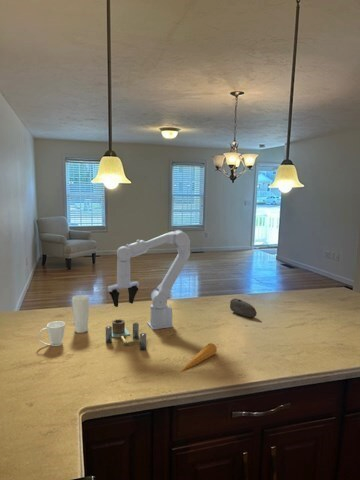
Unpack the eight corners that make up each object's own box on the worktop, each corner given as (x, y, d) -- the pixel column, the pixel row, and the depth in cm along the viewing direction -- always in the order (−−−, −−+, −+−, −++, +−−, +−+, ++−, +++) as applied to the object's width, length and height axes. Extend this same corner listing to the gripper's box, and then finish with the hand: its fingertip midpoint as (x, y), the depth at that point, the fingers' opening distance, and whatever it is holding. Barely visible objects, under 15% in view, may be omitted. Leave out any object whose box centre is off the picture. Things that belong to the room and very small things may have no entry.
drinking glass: (85, 334, 149) (84, 300, 147) (70, 333, 150) (69, 298, 148) (92, 328, 156) (91, 295, 153) (77, 327, 157) (77, 294, 155)
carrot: (211, 353, 137) (207, 342, 137) (220, 352, 134) (216, 341, 134) (177, 378, 122) (173, 366, 122) (186, 378, 119) (182, 365, 119)
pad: (125, 328, 157) (125, 327, 157) (130, 335, 150) (130, 333, 150) (107, 330, 154) (107, 329, 154) (110, 337, 147) (110, 336, 147)
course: (137, 335, 150) (137, 321, 149) (147, 349, 136) (147, 335, 135) (104, 339, 145) (104, 325, 144) (111, 355, 131) (111, 340, 130)
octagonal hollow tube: (117, 328, 155) (117, 318, 155) (126, 331, 153) (126, 320, 152) (110, 332, 151) (109, 322, 150) (119, 334, 148) (119, 324, 148)
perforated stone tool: (259, 318, 172) (259, 304, 171) (252, 320, 169) (252, 306, 168) (235, 310, 184) (236, 296, 183) (228, 312, 180) (229, 298, 179)
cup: (67, 345, 139) (67, 325, 138) (40, 350, 134) (39, 330, 133) (63, 338, 145) (63, 319, 144) (37, 343, 140) (36, 323, 139)
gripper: (113, 278, 147) (113, 310, 149) (142, 273, 156) (142, 303, 158) (105, 275, 152) (105, 306, 154) (134, 270, 161) (133, 299, 163)
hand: (123, 304), depth 156 cm, fingers open, 7 cm apart
